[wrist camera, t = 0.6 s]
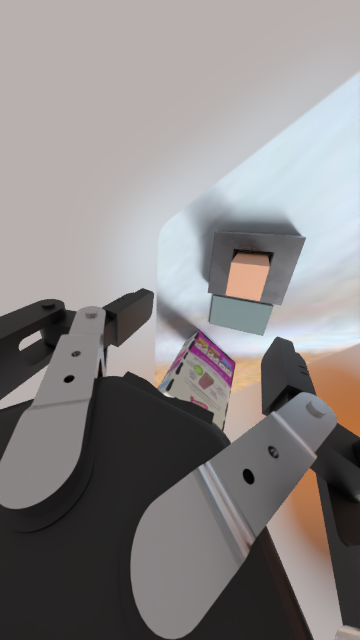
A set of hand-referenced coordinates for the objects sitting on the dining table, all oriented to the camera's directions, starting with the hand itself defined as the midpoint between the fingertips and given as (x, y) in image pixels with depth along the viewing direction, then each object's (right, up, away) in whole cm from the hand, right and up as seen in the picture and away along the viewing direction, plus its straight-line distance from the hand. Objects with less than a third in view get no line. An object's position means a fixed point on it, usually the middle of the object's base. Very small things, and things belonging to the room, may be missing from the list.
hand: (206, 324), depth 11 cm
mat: (+9, +1, +21) cm, 23 cm away
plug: (+9, +9, +16) cm, 20 cm away
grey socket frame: (+9, +9, +16) cm, 20 cm away
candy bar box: (+5, -7, +28) cm, 29 cm away
